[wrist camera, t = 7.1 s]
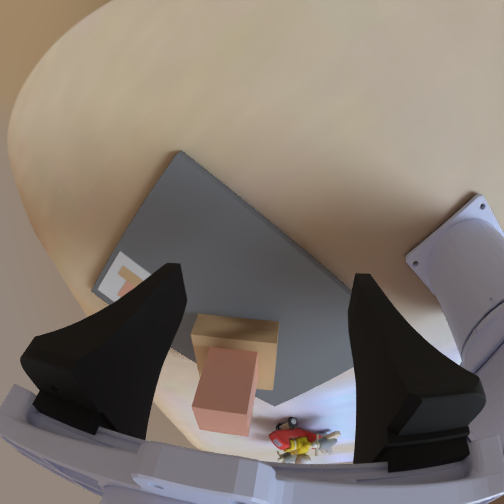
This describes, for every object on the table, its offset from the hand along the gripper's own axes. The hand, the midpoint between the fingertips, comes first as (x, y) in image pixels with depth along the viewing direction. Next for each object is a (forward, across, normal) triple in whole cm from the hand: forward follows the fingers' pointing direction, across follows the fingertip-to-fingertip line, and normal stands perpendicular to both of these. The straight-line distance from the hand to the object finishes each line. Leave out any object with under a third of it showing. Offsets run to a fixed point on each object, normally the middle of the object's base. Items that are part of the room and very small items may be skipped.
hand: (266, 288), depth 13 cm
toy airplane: (+10, -5, +33) cm, 35 cm away
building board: (+10, +3, +11) cm, 15 cm away
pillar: (+7, +3, +14) cm, 16 cm away
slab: (+9, +3, +14) cm, 17 cm away
